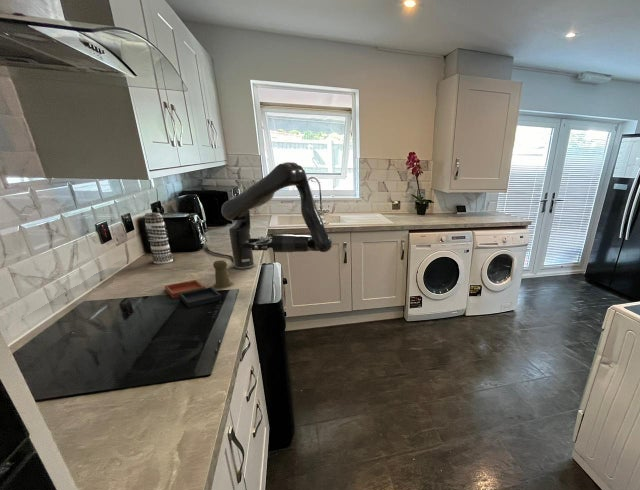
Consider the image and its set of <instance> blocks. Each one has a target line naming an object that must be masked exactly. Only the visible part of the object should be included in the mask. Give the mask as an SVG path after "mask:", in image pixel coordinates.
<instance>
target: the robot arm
mask: <svg viewBox="0 0 640 490" xmlns="http://www.w3.org/2000/svg"><path fill="white" fill-rule="evenodd" d="M293 186H294V187H295V188H296V190H297V191H298V195H299V197H300V213H301V216H302V219H303V221H304V223H305V225H306V227H307V229H308V231H309V233H310V235H294V234H273V235H272V236H271V237H270V236H260V237H258V238H255V237H254V238H252V237H251V227H252V225H251V212H250V211H251V210H252V209H253V210H254V209H257V208H259V207H262V206H264V205H266V204H267V203H269V202H271V200H273V199H274V197H275V193H276V192H278V191H280V190H282V189H284V188H288V187H293ZM221 215H222V217H223V218H224V219H226V220H228V221H231V222H232V221H235V223H234V224H233V225H232V226H230V227H229V228H228V231H229V233H228V234H229V238H230V245H231V252H232V255H229V254H224V253H219V252H215V251H212V250H210V248H209V246H208V245H205V249H206V251H207V252H209V253H211V254H214V255H216V256H217V255H218V256H223V257H228V258H231V260H232V262H233V267H234V269H238V270H245V269H251V268H253V267H255V261H254V253H253V252H254V251H268V250H269V249H272V251H273V252H274V253H305V252H321V253H328V252H329V251H330V250H332V248H333V245H334V242H333V239H332V238H331V237H330V236H329V233H328V232H327V230H326V228H325V224H324V221H323V218H322V216H321V214H320V211H319V210H318V208H317V205H316V202H315V200H314V197H313V193H312V190H311V186H310V183H309V180H308V177H307V173H306V170H305V168H304V167H303V165H302V164H301V163H299V162H297V161H296V162H295V161H288V162H287V161H286V162H281V163H279V164H277V165H276V166H275V167H273V169H272V170H271V171H270V172H269V173H267V175H266V176H264V177H262V178H261V179H259V180H258V181H256V182H254V183H253V184H252V185H250V186H249V187H247V188H246V189H245V190H244V191H242V192H240V193H239V194H238V195H237V196H235V197H233V198H230V199H229V200H226V201H225V202H224V203H223V204H222V205H221Z"/></svg>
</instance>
